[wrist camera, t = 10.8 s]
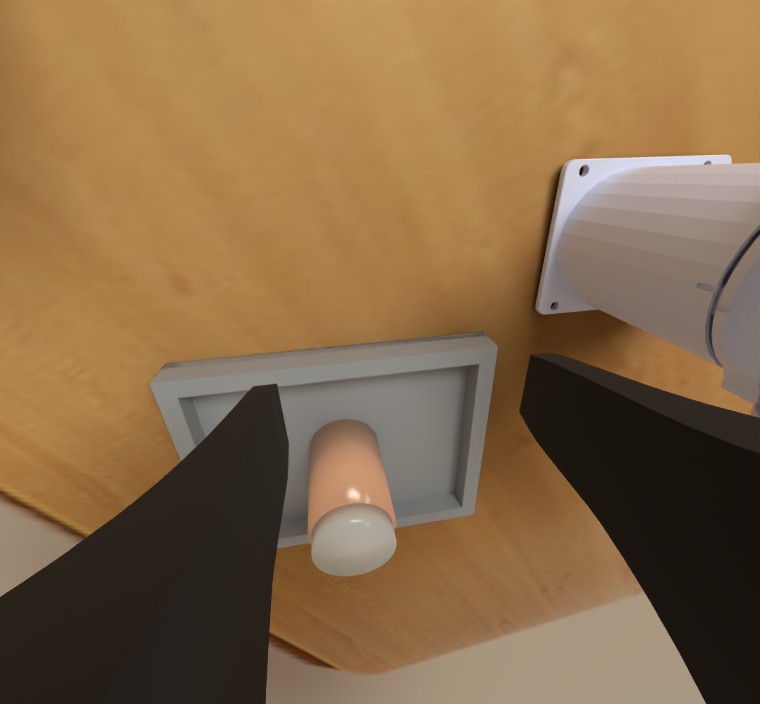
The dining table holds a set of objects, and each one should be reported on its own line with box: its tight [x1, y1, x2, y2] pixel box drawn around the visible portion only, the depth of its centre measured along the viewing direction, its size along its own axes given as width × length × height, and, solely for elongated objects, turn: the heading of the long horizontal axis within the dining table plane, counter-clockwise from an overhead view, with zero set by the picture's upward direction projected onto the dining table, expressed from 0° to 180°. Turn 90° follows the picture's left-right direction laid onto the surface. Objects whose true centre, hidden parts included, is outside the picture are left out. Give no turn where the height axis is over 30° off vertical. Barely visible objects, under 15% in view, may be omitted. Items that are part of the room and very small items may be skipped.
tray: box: [149, 332, 498, 549], centre depth 22 cm, size 18×14×2 cm
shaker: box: [307, 419, 396, 576], centre depth 19 cm, size 4×4×7 cm
